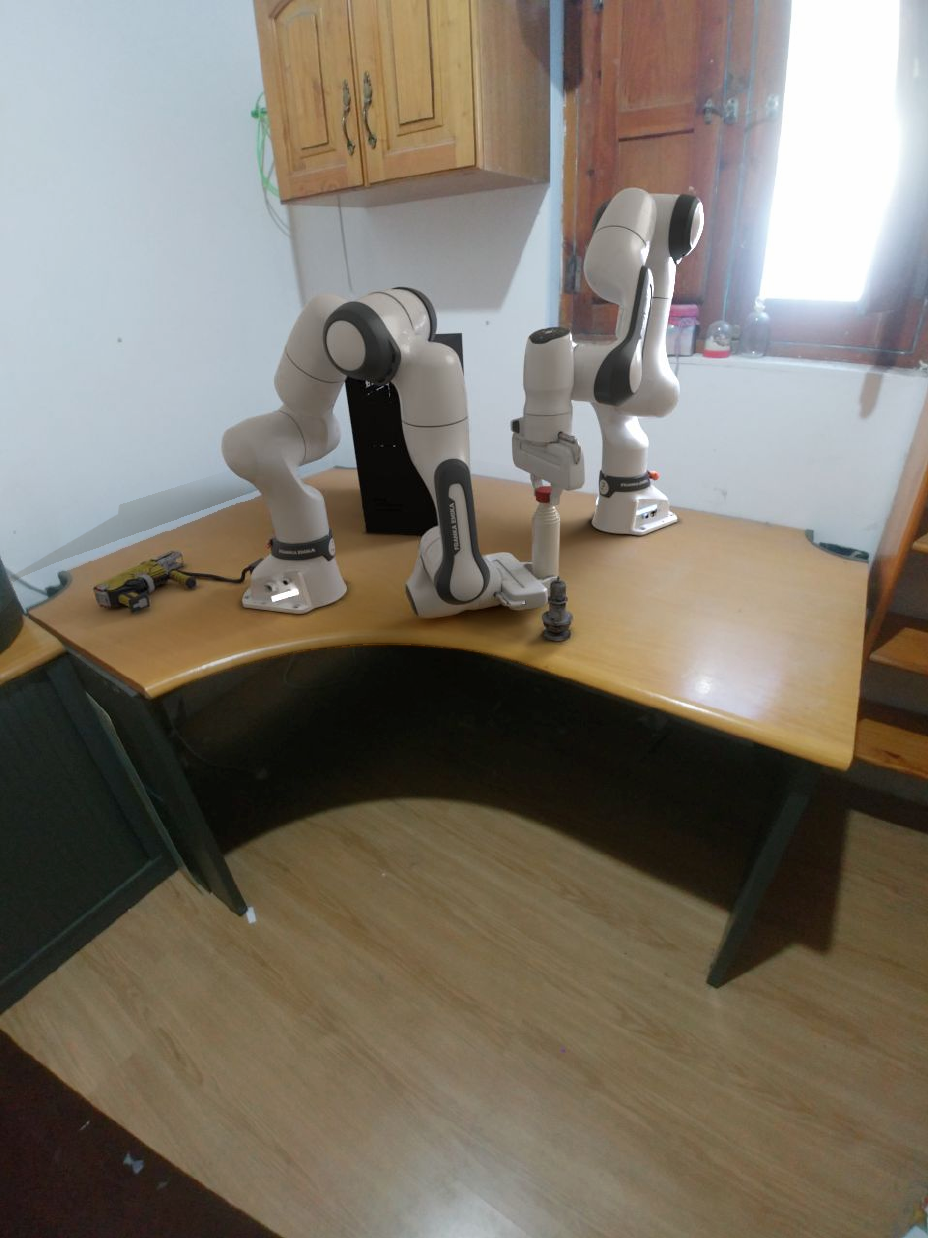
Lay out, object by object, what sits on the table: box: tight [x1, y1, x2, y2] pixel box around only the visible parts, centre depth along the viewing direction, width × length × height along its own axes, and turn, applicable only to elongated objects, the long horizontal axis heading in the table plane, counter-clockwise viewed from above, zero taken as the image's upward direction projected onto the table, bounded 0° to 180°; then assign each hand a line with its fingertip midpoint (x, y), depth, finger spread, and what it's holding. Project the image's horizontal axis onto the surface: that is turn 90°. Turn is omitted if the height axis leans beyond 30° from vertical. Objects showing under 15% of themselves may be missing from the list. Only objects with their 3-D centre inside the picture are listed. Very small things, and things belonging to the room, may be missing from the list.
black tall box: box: [344, 332, 465, 536], centre depth 165 cm, size 38×20×45 cm, turn 167°
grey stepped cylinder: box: [540, 576, 574, 642], centre depth 110 cm, size 6×6×12 cm
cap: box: [535, 485, 552, 503], centre depth 116 cm, size 4×4×2 cm
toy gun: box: [92, 549, 197, 614], centre depth 138 cm, size 5×24×15 cm
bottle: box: [531, 502, 561, 603], centre depth 121 cm, size 6×6×23 cm
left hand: (548, 572), depth 125 cm, fingers closed on bottle, 5 cm apart
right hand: (546, 500), depth 117 cm, fingers closed on cap, 4 cm apart
